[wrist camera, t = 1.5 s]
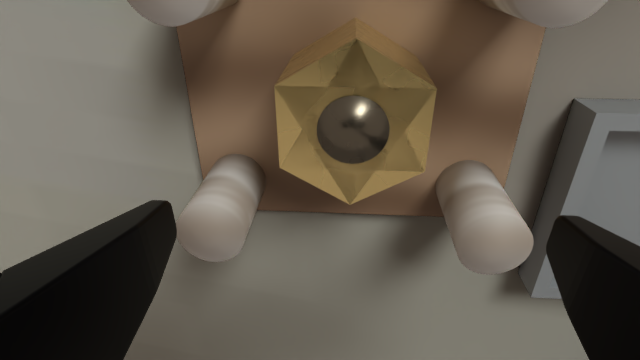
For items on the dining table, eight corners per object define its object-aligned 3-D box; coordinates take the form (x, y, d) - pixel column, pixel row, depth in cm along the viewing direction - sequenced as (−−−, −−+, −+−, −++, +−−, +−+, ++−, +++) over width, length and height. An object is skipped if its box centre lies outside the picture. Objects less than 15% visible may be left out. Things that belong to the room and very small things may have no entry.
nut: (405, 152, 20) (420, 208, 15) (297, 149, 20) (281, 203, 16) (420, 17, 17) (444, 38, 12) (291, 17, 17) (270, 37, 13)
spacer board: (491, 210, 22) (532, 285, 17) (212, 200, 23) (173, 268, 18) (567, -92, 15) (673, -115, 10) (164, -86, 16) (79, -105, 11)
